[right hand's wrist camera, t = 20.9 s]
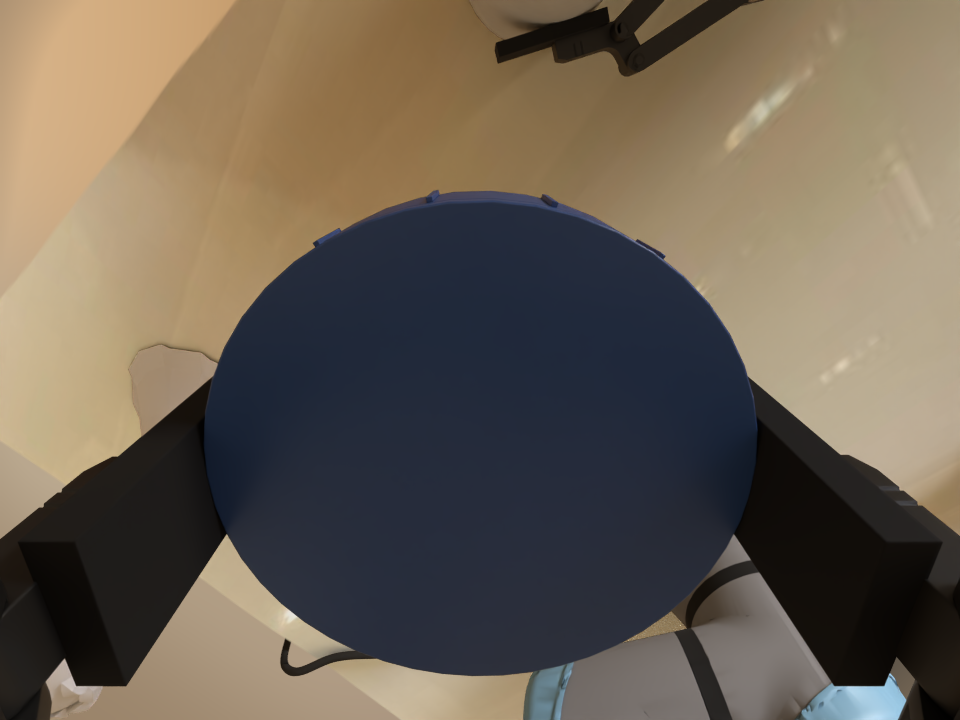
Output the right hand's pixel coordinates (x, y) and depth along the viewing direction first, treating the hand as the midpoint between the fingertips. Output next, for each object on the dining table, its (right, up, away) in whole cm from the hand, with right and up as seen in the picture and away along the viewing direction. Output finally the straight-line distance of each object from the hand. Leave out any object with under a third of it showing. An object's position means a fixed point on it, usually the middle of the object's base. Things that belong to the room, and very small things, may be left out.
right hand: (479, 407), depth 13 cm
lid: (0, -1, -3) cm, 3 cm away
